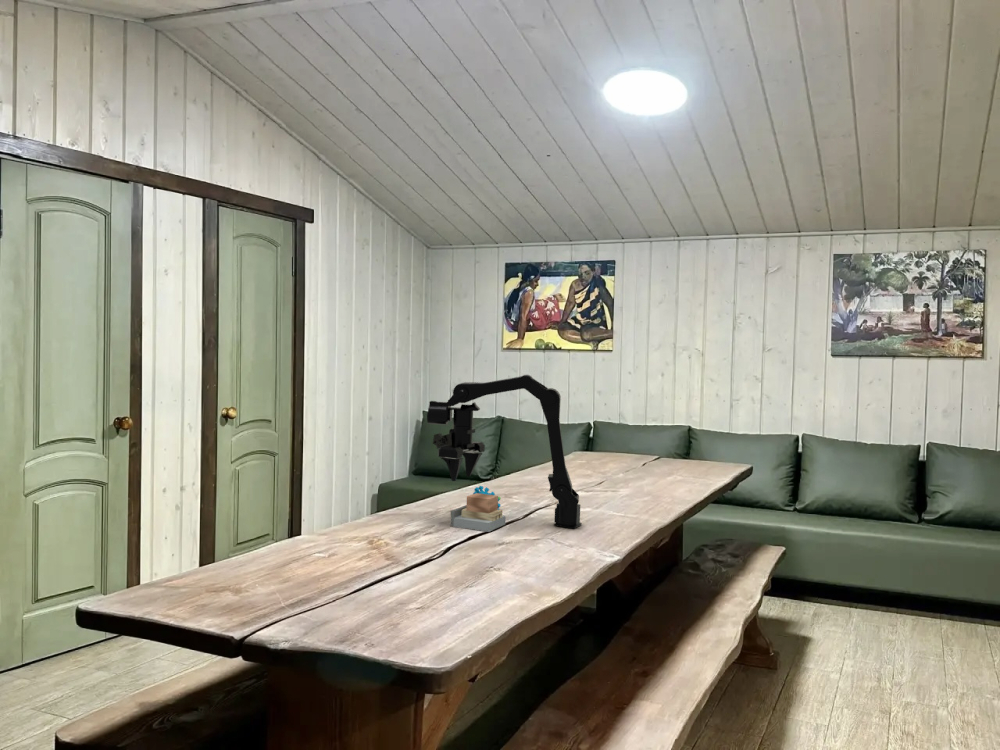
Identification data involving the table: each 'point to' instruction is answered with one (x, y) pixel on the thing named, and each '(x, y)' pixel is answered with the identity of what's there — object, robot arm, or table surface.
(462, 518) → the dock
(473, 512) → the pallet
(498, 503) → the gear
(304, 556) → the table surface
